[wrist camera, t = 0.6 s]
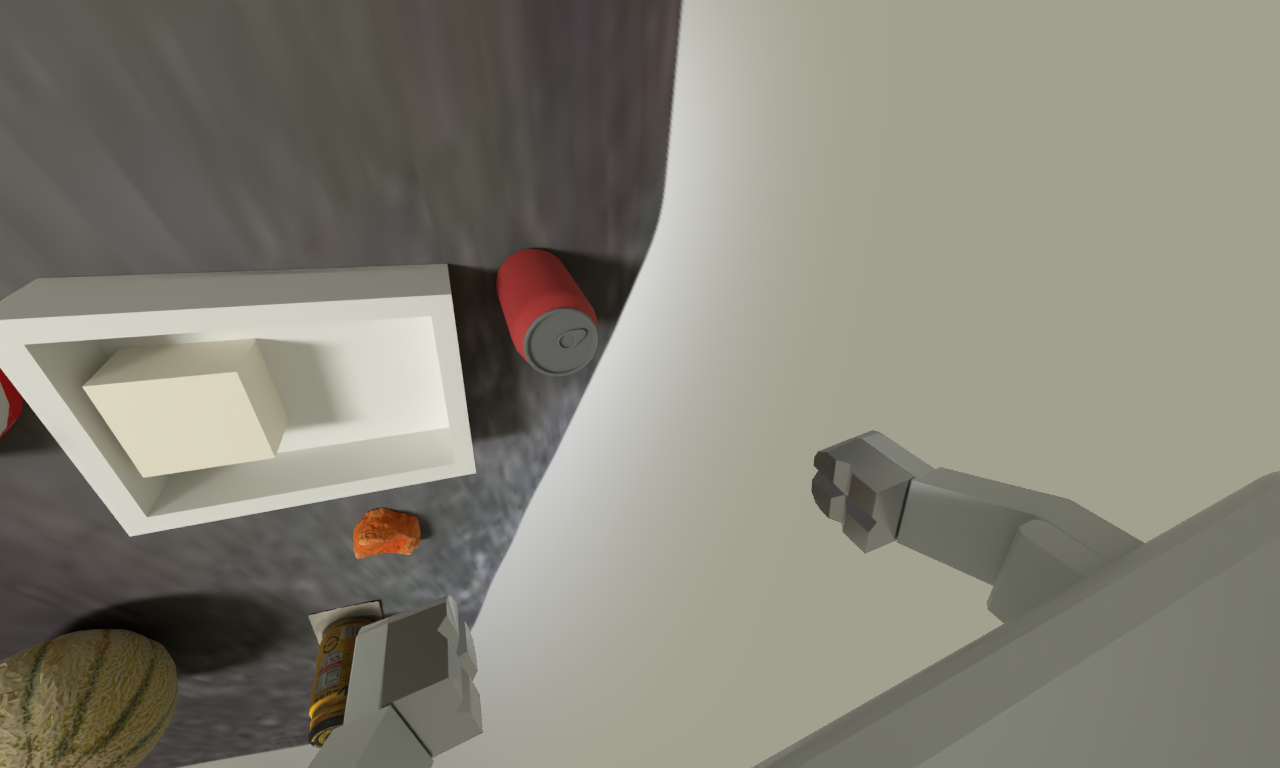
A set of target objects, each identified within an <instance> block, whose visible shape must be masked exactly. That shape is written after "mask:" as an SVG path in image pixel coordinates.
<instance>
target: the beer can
mask: <svg viewBox="0 0 1280 768" xmlns="http://www.w3.org/2000/svg"><path fill="white" fill-rule="evenodd" d="M496 291H497V294H498V297H499V300H500V304H501V307H502V310H503V313H504V316H505V319H506V322H507V325H508V328H509V332H510V335H511V338H512V341H513V343H514V345H515V348H516V350H517V351H518V352H519V354H520V355H521V356H522V357H523V358H524V359H525V360H526V361H527V362H528V363H529V364H530V365H531V366H532V367H533V368H534V369H535V370H537V371H539V372H540V373H542V374H544V375H549V376H555V377H557V376H567V375H570V374H572V373H575V372H578V371H579V370H581V369H582V368H584V367H585V366H586V365H588V363H589V362H590V361H591V360H592V359H593V357H594V356H595V354H596V351H597V349H598V347H599V333H598V322H597V318H596V314H595V311H594V309H593V308H592V306H591V305H590V303H589V302H588V300H587V299H586V297H585V296H584V294H583V293H582V291H581V290H580V288H579V287H578V285H577V284H576V282H575V281H574V279H573V278H572V276H571V275H570V273H569V272H568V270H567V269H566V267H565V266H564V265H563V263H562V262H561V260H560V259H559V258H557V257H556V256H554V255H553V254H552V253H550V252H547V251H544V250H541V249H526V250H523V251H520V252H516V253H515V254H513V255H512V256H511V257H509V258H508V259H506V261H505V262H504V263H503V265H502V266H501V267H500V269H499V272H498V275H497V278H496Z"/></svg>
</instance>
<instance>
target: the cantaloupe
mask: <svg viewBox="0 0 1280 768" xmlns="http://www.w3.org/2000/svg"><path fill="white" fill-rule="evenodd" d="M177 693H178V684H177V671H176V665H175V663H174V661H173V659H172V658H171V656H170V654H169V653H168V652H167V651H166V649H165V647H164V646H163V645H162V644H161V643H158V642H156V641H154V640H152V639H149V638H146V637H145V636H144V635H141V634H138V633H135V632H133V631H128V630H124V629H93V630H85V631H77V632H73V633H68V634H64V635H61V636H59V637H57V638H54V639H49V640H46V641H43V642H40V643H37V644H34V645H32V646H30V647H28V648H26V649H24V650H22V651H20V652H17V653H15V654H13V655H11V656H9V657H7V658H6V659H5V660H3V661H2V662H0V768H134V767H135V766H136V765H137V764H138V763H140V762H141V761H142V760H143V759H144V758H145V757H146V756H147V755H148V753H149V752H150V751H151V750H152V748H153V747H154V746H155V745H156V743H157V742H158V740H159V739H160V738H161V736H162V735H163V734H164V731H165V729H166V728H167V727H168V725H169V723H170V721H171V718H172V716H173V713H174V710H175V706H176V702H177Z"/></svg>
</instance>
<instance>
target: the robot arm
mask: <svg viewBox="0 0 1280 768" xmlns="http://www.w3.org/2000/svg"><path fill="white" fill-rule="evenodd" d="M814 466H815V467H816V469H817V470H818V472H817V473H816V475H815V477H814V478H813V480H812V494H813V496H814V499H815V502H816V504H817V505H818V507H819V508H820V509H821V511H822V512H823V513H824V514H825V515H826V516H827V517H828V518H829V519H832V520H835V521H838V522H841V523H842V529H843V533H844V534H845V535H846V536H848V538H849V539H850V540H851V541H853V542H854V543H855V544H856V545H857V546H858V547H859V548H860V549H861V550H862V551H863V552H864V553H867V552H870V551H872V550H875V549H877V548H879V547H882V546H884V545H886V544H888V543H891V542H893V541H895V540H897V543H899V544H902V545H904V546H906V547H908V548H911V549H913V550H915V551H917V552H919V553H922V554H924V555H926V556H928V557H931V558H933V559H935V560H937V561H939V562H942V563H944V564H946V565H948V566H951V567H953V568H955V569H957V570H960V571H962V572H964V573H966V574H968V575H971V576H973V577H975V578H977V579H980V580H982V581H984V582H986V583H988V584H991V585H993V586H994V587H993V589H992V591H991V594H990V596H989V598H988V601H987V607H988V610H989V611H990V612H992V613H993V614H994V615H995V616H996V617H997V618H998V619H999V620H1001V621H1002V622H1003V623H1004V624H1003V625H1001V626H999V627H998V628H996V629H994V630H992V631H991V632H989V633H987V634H985V635H984V636H982V637H980V638H978V639H977V640H975V641H973V642H971V643H970V644H968V645H966V646H964V647H963V648H961V649H959V650H957V651H956V652H954V653H952V654H951V655H949V656H947V657H945V658H943V659H942V660H940V661H938V662H936V663H934V664H933V665H931V666H929V667H927V668H926V669H924V670H922V671H920V672H919V673H917V674H915V675H913V676H912V677H910V678H908V679H906V680H905V681H903V682H901V683H899V684H898V685H896V686H894V687H892V688H891V689H889V690H887V691H885V692H884V693H882V694H880V695H878V696H877V697H875V698H873V699H871V700H870V701H868V702H866V703H864V704H863V705H861V706H859V707H857V708H856V709H854V710H852V711H850V712H849V713H847V714H845V715H843V716H842V717H840V718H838V719H836V720H835V721H833V722H831V723H829V724H828V725H826V726H824V727H822V728H821V729H819V730H817V731H815V732H814V733H812V734H810V735H808V736H806V737H805V738H803V739H801V740H800V741H798V742H796V743H794V744H792V745H791V746H789V747H787V748H786V749H784V750H782V751H780V752H778V753H777V754H775V755H773V756H772V757H770V758H768V759H766V760H764V761H763V762H761V763H759V764H757V765H756V766H754V767H752V768H1280V471H1278V472H1273V473H1270V474H1268V475H1265V476H1263V477H1261V478H1259V479H1257V480H1255V481H1254V482H1252V483H1250V484H1248V485H1247V486H1245V487H1243V488H1242V489H1240V490H1238V491H1236V492H1234V493H1233V494H1231V495H1229V496H1227V497H1226V498H1224V499H1222V500H1220V501H1219V502H1217V503H1215V504H1213V505H1212V506H1210V507H1208V508H1206V509H1205V510H1203V511H1201V512H1199V513H1198V514H1196V515H1194V516H1193V517H1191V518H1189V519H1187V520H1185V521H1183V522H1182V523H1180V524H1178V525H1176V526H1175V527H1173V528H1171V529H1169V530H1168V531H1166V532H1164V533H1162V534H1161V535H1159V536H1157V537H1155V538H1154V539H1152V540H1150V541H1148V542H1147V543H1143V542H1142V541H1140V540H1138V539H1137V538H1135V537H1133V536H1131V535H1130V534H1128V533H1126V532H1125V531H1123V530H1121V529H1120V528H1118V527H1116V526H1114V525H1113V524H1111V523H1109V522H1107V521H1106V520H1104V519H1102V518H1101V517H1099V516H1097V515H1096V514H1094V513H1092V512H1090V511H1089V510H1087V509H1085V508H1084V507H1082V506H1080V505H1078V504H1077V503H1075V502H1073V501H1071V500H1069V499H1066V498H1062V497H1057V496H1054V495H1050V494H1046V493H1042V492H1038V491H1033V490H1029V489H1026V488H1022V487H1018V486H1014V485H1010V484H1005V483H1001V482H998V481H993V480H990V479H985V478H981V477H977V476H974V475H970V474H965V473H961V472H958V471H954V470H950V469H945V468H942V467H940V468H937V469H934V468H932V467H931V466H930V465H928V464H927V463H925V462H924V461H922V460H920V459H919V458H918V457H916V456H915V455H913V454H912V453H910V452H909V451H907V450H906V449H904V448H903V447H901V446H900V445H898V444H897V443H895V442H894V441H892V440H891V439H889V438H888V437H886V436H885V435H883V434H882V433H880V432H877V431H874V430H872V431H869V432H867V433H864V434H862V435H859V436H856V437H854V438H851V439H848V440H846V441H843V442H841V443H838V444H836V445H833V446H831V447H828V448H826V449H823V450H821V451H819V452H818V453H817V454H816V456H815V458H814ZM477 671H478V670H477V661H476V653H475V648H474V644H473V639H472V636H471V633H470V630H469V628H468V626H467V624H466V622H465V620H462V619H459V618H458V609H457V605H456V603H455V601H454V600H453V598H452V596H451V595H450V596H445V597H443V598H440V599H437V600H434V601H432V602H429V603H426V604H423V605H421V606H418V607H415V608H412V609H409V610H407V611H404V612H401V613H398V614H396V615H393V616H391V617H388V618H386V619H383V620H380V621H377V622H375V623H372V624H369V625H367V626H364V627H361V629H360V631H359V633H358V635H357V637H356V642H355V649H354V655H353V662H352V669H351V675H350V682H349V689H348V695H347V702H346V709H345V716H344V722H343V725H342V726H340V727H338V728H335V729H333V731H332V732H331V734H330V735H329V737H328V738H327V740H326V741H325V743H324V744H323V746H322V747H321V749H320V750H319V752H318V753H317V755H316V756H315V758H314V759H313V761H312V762H311V764H310V766H309V767H308V768H431V766H432V764H433V759H432V758H433V757H435V756H437V755H439V754H441V753H443V752H445V751H447V750H449V749H451V748H453V747H455V746H457V745H459V744H461V743H463V742H465V741H467V740H469V739H471V738H473V737H475V736H477V735H479V734H481V733H483V731H482V718H481V707H480V706H481V705H480V695H479V693H478V691H477V689H476V687H475V685H474V684H473V682H472V681H473V679H474V677H475V675H476V673H477Z"/></svg>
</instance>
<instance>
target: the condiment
mask: <svg viewBox="0 0 1280 768" xmlns="http://www.w3.org/2000/svg"><path fill="white" fill-rule="evenodd" d="M370 616H371V617H370ZM308 617H309V620H310V622H311V625H312V627H313V630H314V632H315V635H316V637H317V639H318V642H319V645H320V647H319V652H318V656H317V662H316V672H315V676H314V682H313V690H312V692H311V701H310V707H309V715H310V717H311V719H312V720H311V723H310V733H309V737H308V738H309V742H310V744H311V745H312V746H314V747H317V748H321V747H322V746H323V744H324V743H325V741H326V740H327V738H328V737H329V735H330V734H331V732H332V731H333V729H335V728H338V727H340V726H342V725H343V722H344V716H345V709H346V702H347V695H348V689H349V682H350V675H351V669H352V662H353V655H354V649H355V642H356V637H357V635H358V633H359V631H360V629H361V627H364V626H367V625H369V624H372V623H375V622H377V621H380V620H383V618H382V613H381V609H380V605H379V601H377V602H372V603H371V602H368V603H363V604H359V605H352V606H348V607H344V608H337V609H334V610H331V611H325V612H321V613H318V614H313V615H308ZM332 619H334V620H332ZM331 621H333V622H331Z"/></svg>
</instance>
